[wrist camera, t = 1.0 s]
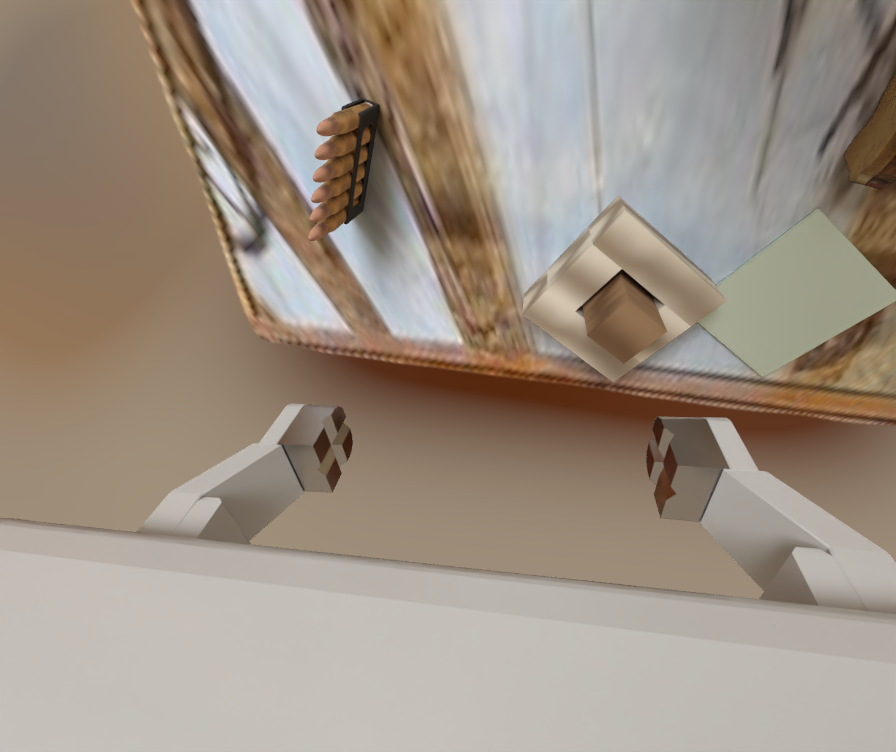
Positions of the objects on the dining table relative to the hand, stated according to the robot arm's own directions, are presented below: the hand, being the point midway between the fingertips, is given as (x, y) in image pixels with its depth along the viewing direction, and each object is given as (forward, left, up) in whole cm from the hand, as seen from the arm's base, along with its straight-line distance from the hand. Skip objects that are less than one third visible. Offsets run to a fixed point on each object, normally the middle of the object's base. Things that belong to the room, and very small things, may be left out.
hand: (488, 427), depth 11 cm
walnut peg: (+5, +17, -38) cm, 42 cm away
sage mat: (-5, +32, -38) cm, 50 cm away
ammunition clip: (+11, -13, -38) cm, 42 cm away
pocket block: (+5, +17, -38) cm, 42 cm away
